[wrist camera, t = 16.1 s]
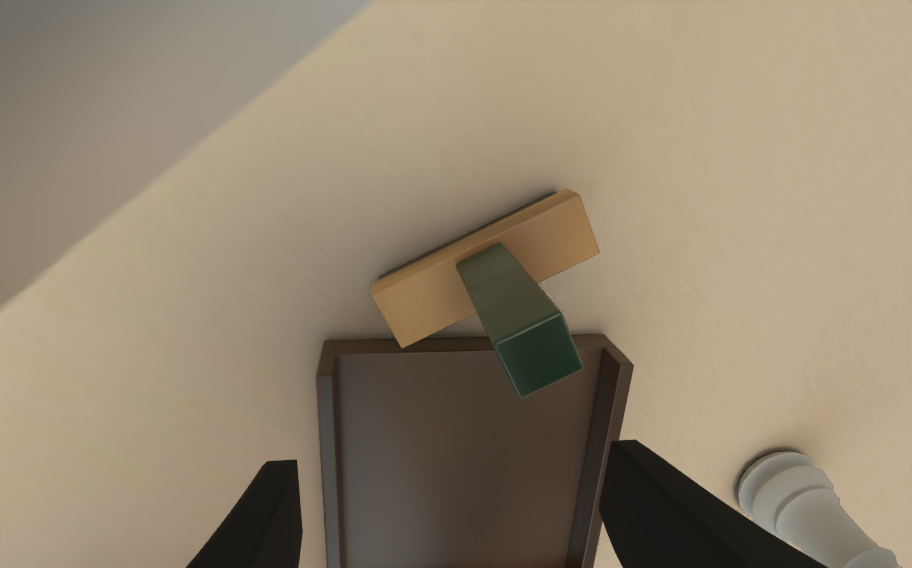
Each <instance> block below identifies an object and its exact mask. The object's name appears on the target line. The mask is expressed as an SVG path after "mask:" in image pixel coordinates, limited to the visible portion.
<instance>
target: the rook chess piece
mask: <svg viewBox="0 0 912 568" xmlns="http://www.w3.org/2000/svg"><path fill="white" fill-rule="evenodd" d="M738 497H739V503H740V508H741V509H742V510H743V511H744V512H745V513H746V514H747V516H750V517H753V521H754V522H755V523H756V524H757V525H759V526H760V527H762V528H763V529H765V530H766V531H768V532H769V533H771V534H773V535H777V536H779V537H780V538H781V539H782V540H784V541H787V542H791V543H793V544H794V545H796V546H797V547H799V548H800V549H801V550H802V551H804V552H805V553H806V554H807V555H808V556H810V557H811V558H813V559H815V560H816V561H818V562H820V563H822V564H823V565H825V566H827V567H829V568H902V567H900V566H899V565H898V564H897V561H896V556H895V555H894V554H893V552H892V551H891V550H888V549H885V548H881V547H879V546H878V545H877V544H876V543H875V542H874V541H873V540H872V539H870V538H869V537H868V536H867V535H866V534H865V533H864V532H863V531H862V530H861V529H860V528H859V526H858V525H857V524H856V523H855V522H854V521H853V520H852V519H851V518H850V516H849V515H848V514H847V513H846V512H845V511H844V509H843V508H842V506H841V505H840V498H839V497H838V496H837V495H836V493H835V492H833V484H832V483H831V481H830V480H829V478H828V477H827V476H826V474H825V473H824V472H823V471H822V469H819V468H816V467H815V464H814V463H813V462H812V461H811V459H810V458H809V457H808V456H805V455H802V454H800V453H797V452H788V451H784V452H773V453H771V454H768V455H766V456H763V457H761V458H760V459H758V460H757V461H756V462H754V463H753V464H752V465H750V466H749V467H748V469H747V470H746V471H745V473H744V474H743V475H742V477H741V480H740V483H739V486H738Z"/></svg>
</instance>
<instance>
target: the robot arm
mask: <svg viewBox="0 0 912 568" xmlns="http://www.w3.org/2000/svg"><path fill="white" fill-rule="evenodd" d="M598 509H599V512H600V515H601V517H602V520H603V523H604V525H605V528H606V531H607V533H608V536H609V538H610V541H611V543H612V546H613V548H614V551H615V553H616V555H617V557H618V559H619V561H620V563H621V565H622V567H623V568H829V567H827V566H825V565H823V564H822V563H820V562H818V561H816V560H815V559H813V558H811V557H809V556H808V555H806V554H804V553H802V552H801V551H799V550H797V549H795V548H794V547H792V546H790V545H789V544H787V543H785V542H784V541H782V540H780V539H779V538H777V537H776V536H774V535H772V534H771V533H769V532H768V531H766V530H765V529H763V528H762V527H760V526H759V525H757V524H755V523H754V522H752V521H751V520H749V519H748V518H746V517H745V516H743V515H742V514H740V513H739V512H737V511H736V510H734V509H733V508H731V507H730V506H728V505H727V504H725V503H724V502H723V501H721V500H720V499H718V498H717V497H715V496H714V495H713V494H711V493H710V492H708V491H707V490H705V489H704V488H703V487H701V486H700V485H698V484H697V483H696V482H694V481H693V480H692V479H690V478H689V477H687V476H686V475H685V474H683V473H682V472H681V471H679V470H678V469H676V468H675V467H674V466H672V465H671V464H670V463H668V462H667V461H665V460H664V459H663V458H661V457H660V456H658V455H657V454H656V453H654V452H653V451H651V450H650V449H649V448H647V447H646V446H644V445H643V444H641V443H640V442H638V441H637V440H620V441H611V445H610V450H609V455H608V460H607V466H606V471H605V476H604V481H603V486H602V491H601V496H600V501H599V507H598ZM302 533H303V531H302V518H301V505H300V493H299V480H298V467H297V460H281V461H267V462H266V463H265V464H264V465H263V466H262V467H261V469H260V470H259V472H258V473H257V475H256V476H255V478H254V479H253V481H252V482H251V483H250V485H249V486H248V488H247V489H246V491H245V492H244V493H243V495H242V496H241V498H240V499H239V500H238V502H237V503H236V505H235V506H234V507H233V509H232V510H231V511H230V513H229V514H228V515H227V517H226V518H225V519H224V521H223V522H222V523H221V524H220V526H219V527H218V528H217V530H216V531H215V532H214V534H213V535H212V536H211V537H210V539H209V540H208V541H207V543H206V544H205V545H204V546H203V548H202V549H201V550H200V551H199V552H198V554H197V555H196V556H195V557H194V558H193V560H192V561H191V562H190V563H189V564H188V565H187V567H186V568H298V566H299V558H300V550H301V541H302Z"/></svg>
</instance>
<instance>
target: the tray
mask: <svg viewBox="0 0 912 568" xmlns="http://www.w3.org/2000/svg"><path fill="white" fill-rule="evenodd" d="M571 336H572V339H573V341H574V344H575V346H576V349H577V351H578V353H579V356H580V358H581V361H582V363H583V369H582V370H580V371H578V372H576V373H574V374H572V375H570V376H568V377H566V378H564V379H562V380H560V381H557V382H555V383H553V384H551V385H549V386H547V387H545V388H543V389H541V390H539V391H537V392H534V393H532V394H530V395H528V396H526V397H524V398H519V397H518V396H517V395H516V393H515V391H514V389H513V387H512V385H511V383H510V381H509V379H508V377H507V375H506V372H505V370H504V368H503V366H502V364H501V362H500V360H499V358H498V356H497V354H496V352H495V350H494V348H493V346H492V344H491V342H490V340H489V337H470V338H426V339H421V340H419V341H417V342H415V343H413V344H410V345H408V346H406V347H404V348H401V347H400V345H399V343H398V342H397V340H396V339H381V340H336V341H324V343H323V347H322V352H321V357H320V360H319V365H318V369H317V374H316V386H317V403H318V420H319V438H320V455H321V473H322V490H323V508H324V525H325V543H326V560H327V568H593V566H594V561H595V556H596V551H597V546H598V541H599V536H600V531H601V526H602V521H603V520H602V517H601V515H600V512H599V509H598V507H599V501H600V496H601V491H602V486H603V481H604V476H605V471H606V466H607V460H608V455H609V450H610V445H611V441H619V437H620V432H621V427H622V422H623V417H624V412H625V407H626V402H627V397H628V392H629V387H630V382H631V377H632V372H633V367H634V365H633V363H632V362H631V361H630V360H629V359H628V358H627V357H626V356H625V355H624V354H623V353H622V352H621V351H620V350H619V349H618V348H616V346H615V345H614V344H613V343H612V342H611V341H610V340H609V339H608V338H607V337H606V335H571Z"/></svg>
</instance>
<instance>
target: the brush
mask: <svg viewBox="0 0 912 568" xmlns="http://www.w3.org/2000/svg"><path fill="white" fill-rule="evenodd" d="M596 254H599V249H598V246H597V243H596V240H595V237H594V235H593V232H592V229H591V226H590V223H589V220H588V217H587V215H586V212H585V209H584V206H583V203H582V200H581V198H580V195H579V194H578V193H576V192H573V191H571V190H569V189H565V190H563V191H560V192H558V193H557V192H552V193H550V194H548V195H546V196H544V197H542V198H540V199H538V200H536V201H533V202H531V203H529V204H527V205H525V206H523V207H521V208H519V209H517V210H515V211H513V212H511V213H509V214H507V215H505V216H503V217H501V218H499V219H497V220H495V221H493V222H490V223H488V224H486V225H484V226H482V227H480V228H478V229H476V230H474V231H472V232H470V233H468V234H466V235H464V236H462V237H460V238H458V239H456V240H454V241H452V242H449V243H447V244H445V245H443V246H441V247H439V248H437V249H435V250H433V251H431V252H429V253H427V254H425V255H423V256H421V257H419V258H417V259H415V260H413V261H411V262H409V263H406V264H404V265H402V266H400V267H398V268H396V269H394V270H392V271H390V272H388V273H386V274H384V275H382V276H380V277H379V280H378V281H376V282H374V283H372V284H371V297H372V299H373V301H374V302H375V304H376V306H377V307H378V309H379V311H380V313H381V314H382V316H383V318H384V319H385V321H386V323H387V324H388V326H389V328H390V330H391V331H392V333H393V335H394V336H395V338H396V340H397V342H398V343H399V345H400V347H401V348H404V347H406V346H408V345H410V344H413V343H415V342H417V341H419V340H421V339H423V338H425V337H427V336H429V335H431V334H433V333H435V332H437V331H439V330H441V329H444V328H446V327H448V326H450V325H452V324H454V323H456V322H458V321H460V320H462V319H464V318H466V317H468V316H470V315H472V314H475V313H477V314H478V316H479V318H480V320H481V322H482V324H483V327H484V329H485V331H486V333H487V335H488V337H489V340H490V342H491V344H492V346H493V348H494V350H495V352H496V354H497V356H498V358H499V360H500V362H501V364H502V366H503V368H504V370H505V372H506V375H507V377H508V379H509V381H510V383H511V385H512V387H513V389H514V391H515V393H516V395H517V396H518V397H519V398H524V397H526V396H528V395H530V394H532V393H534V392H537V391H539V390H541V389H543V388H545V387H547V386H549V385H551V384H553V383H555V382H557V381H560V380H562V379H564V378H566V377H568V376H570V375H572V374H574V373H576V372H578V371H580V370H582V369H583V363H582V361H581V358H580V356H579V353H578V351H577V349H576V346H575V344H574V341H573V339H572V336H571V334H570V331H569V329H568V327H567V324H566V322H565V319H564V317H563V314H562V312H561V311H560V310H559V309H558V307H557V306H556V305H555V304H554V303H553V302H552V300H551V299H550V298H549V297H548V296H547V295H546V293H545V292H544V291H543V290H542V289H541V288H540V286H539V285H538V284H537V283H539V282H541V281H543V280H545V279H547V278H549V277H551V276H553V275H555V274H557V273H559V272H561V271H563V270H565V269H568V268H570V267H572V266H574V265H576V264H578V263H580V262H582V261H584V260H586V259H588V258H590V257H592V256H594V255H596Z"/></svg>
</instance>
